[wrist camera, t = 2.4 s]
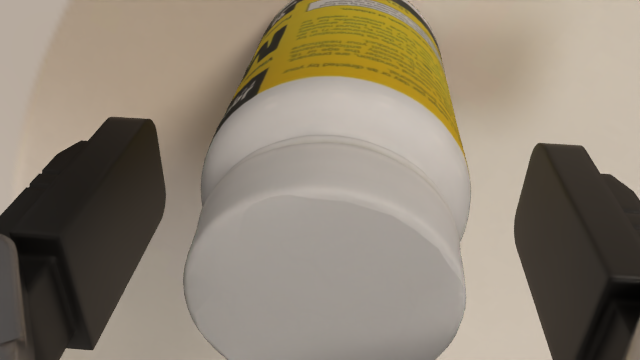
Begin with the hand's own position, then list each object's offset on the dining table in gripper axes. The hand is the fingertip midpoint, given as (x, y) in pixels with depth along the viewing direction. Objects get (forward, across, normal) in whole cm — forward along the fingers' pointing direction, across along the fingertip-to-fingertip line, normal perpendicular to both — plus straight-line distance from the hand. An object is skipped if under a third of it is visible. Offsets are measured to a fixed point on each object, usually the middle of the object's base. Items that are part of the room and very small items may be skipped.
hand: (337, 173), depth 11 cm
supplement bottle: (+5, 0, 0) cm, 5 cm away
